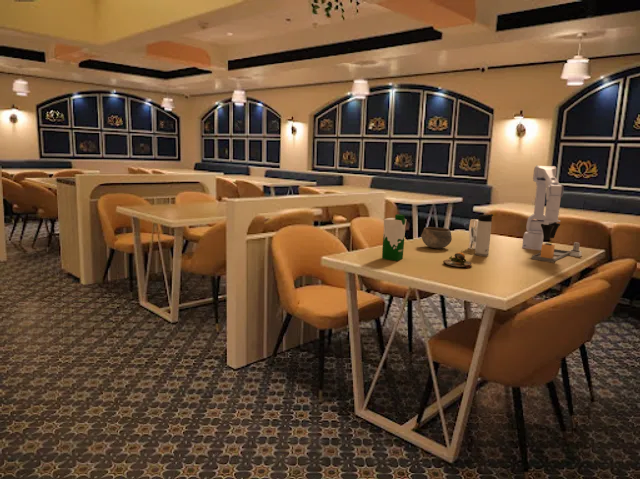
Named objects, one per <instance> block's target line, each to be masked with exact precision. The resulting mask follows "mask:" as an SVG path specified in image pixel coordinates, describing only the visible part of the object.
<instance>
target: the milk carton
mask: <svg viewBox="0 0 640 479" xmlns="http://www.w3.org/2000/svg"><path fill="white" fill-rule="evenodd" d="M406 224H407V219H406V218H405V214H395V216H394V217H388V218H384V219H383V234H382V236H383V237H382V250H381V251H382V252H381V254H382V256H381V259H382V260H387V261H388V260H389V261H395V262H398V261H400V260H403V258H404V249H405V248H404V245H405V237H406V236H405V233H406Z"/></svg>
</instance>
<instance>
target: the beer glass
mask: <svg viewBox="0 0 640 479" xmlns="http://www.w3.org/2000/svg"><path fill="white" fill-rule="evenodd" d="M478 219H479V218H478ZM478 219H477V218H476V219H475V218H473V219H472V218H471V219H470V221H469V227H468V233H469V242H468V243H469V244H468V247H467V248H468V249H469V250H474V251H475V247H476V237H477V227H478Z"/></svg>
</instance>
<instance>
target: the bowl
mask: <svg viewBox="0 0 640 479" xmlns="http://www.w3.org/2000/svg"><path fill="white" fill-rule="evenodd" d="M420 237H421V240H422V242H423V243H424V245H425V246H426V247H428V248H431V249H439V250H440V249H444V248H446V247H447V246H448V245H450V243H451V242H452V241H453V239H452V238H453V236H452V232H451V230H450V229H449V228H446V227H437V226H436V227H435V226H426V227H424V228H423V230H422V232H421V234H420Z"/></svg>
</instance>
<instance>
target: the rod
mask: <svg viewBox="0 0 640 479" xmlns="http://www.w3.org/2000/svg"><path fill="white" fill-rule="evenodd" d="M580 246H581V245H580V242H576V241H575V242H574V243H573V246H572V250H573V251H576V252H579V251H580Z"/></svg>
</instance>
